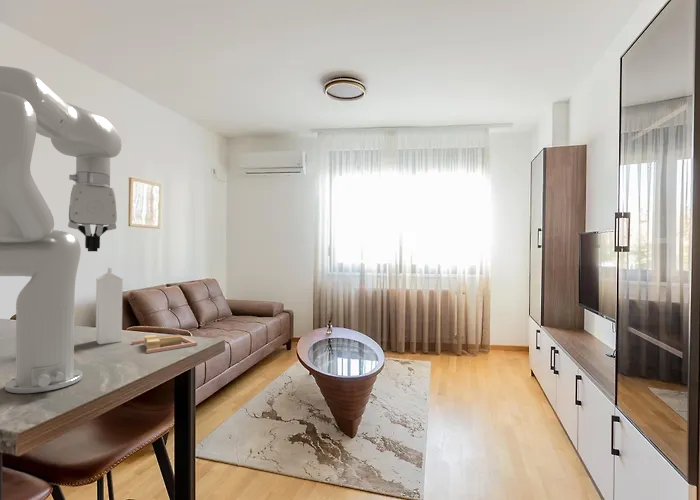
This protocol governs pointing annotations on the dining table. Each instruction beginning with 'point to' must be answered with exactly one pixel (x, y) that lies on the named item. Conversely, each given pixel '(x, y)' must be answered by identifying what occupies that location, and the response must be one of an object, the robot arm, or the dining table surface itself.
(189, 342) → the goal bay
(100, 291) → the milk
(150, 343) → the t block
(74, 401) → the dining table surface
